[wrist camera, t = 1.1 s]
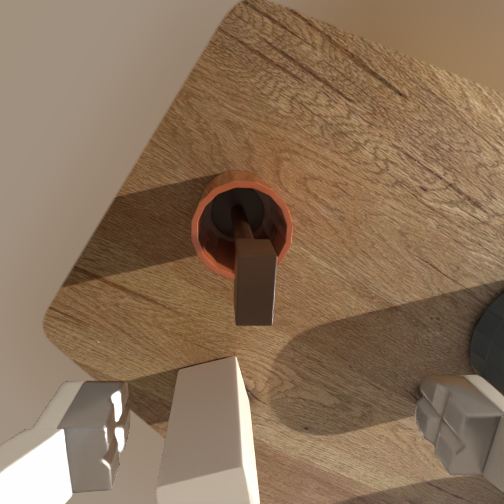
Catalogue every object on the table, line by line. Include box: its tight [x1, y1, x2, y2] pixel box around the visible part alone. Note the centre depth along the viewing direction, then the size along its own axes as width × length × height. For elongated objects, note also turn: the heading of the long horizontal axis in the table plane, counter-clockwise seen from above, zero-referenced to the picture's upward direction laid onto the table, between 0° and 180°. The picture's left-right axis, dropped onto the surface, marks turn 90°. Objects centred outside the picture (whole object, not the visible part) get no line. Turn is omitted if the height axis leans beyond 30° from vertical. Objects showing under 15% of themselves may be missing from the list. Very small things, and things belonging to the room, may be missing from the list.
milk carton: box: [156, 356, 260, 504], centre depth 33 cm, size 7×7×19 cm
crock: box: [191, 170, 293, 279], centre depth 31 cm, size 8×8×10 cm
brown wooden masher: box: [211, 188, 278, 326], centre depth 26 cm, size 5×5×20 cm
